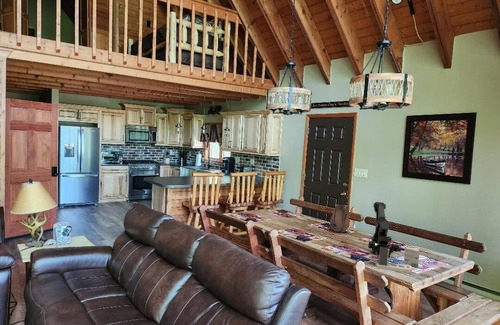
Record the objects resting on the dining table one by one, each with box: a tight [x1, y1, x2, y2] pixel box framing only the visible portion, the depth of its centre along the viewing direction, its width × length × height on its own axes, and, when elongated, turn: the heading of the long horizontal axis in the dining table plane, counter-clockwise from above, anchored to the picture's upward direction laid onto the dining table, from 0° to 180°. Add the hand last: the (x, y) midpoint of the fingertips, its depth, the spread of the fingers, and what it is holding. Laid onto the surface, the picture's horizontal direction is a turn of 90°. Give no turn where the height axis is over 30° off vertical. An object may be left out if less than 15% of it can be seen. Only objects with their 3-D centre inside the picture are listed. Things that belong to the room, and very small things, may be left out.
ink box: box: [403, 246, 420, 269], centre depth 233 cm, size 9×5×12 cm, turn 47°
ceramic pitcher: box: [329, 203, 350, 233], centre depth 316 cm, size 18×21×25 cm
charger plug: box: [378, 246, 389, 266], centre depth 224 cm, size 4×4×13 cm
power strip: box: [374, 260, 413, 274], centre depth 222 cm, size 21×9×4 cm, turn 76°
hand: (383, 257), depth 222 cm, fingers open, 6 cm apart
